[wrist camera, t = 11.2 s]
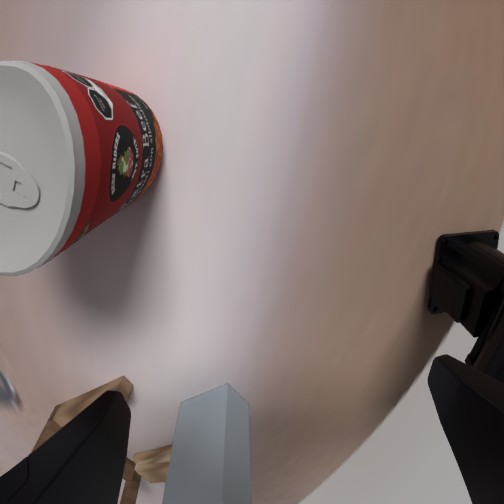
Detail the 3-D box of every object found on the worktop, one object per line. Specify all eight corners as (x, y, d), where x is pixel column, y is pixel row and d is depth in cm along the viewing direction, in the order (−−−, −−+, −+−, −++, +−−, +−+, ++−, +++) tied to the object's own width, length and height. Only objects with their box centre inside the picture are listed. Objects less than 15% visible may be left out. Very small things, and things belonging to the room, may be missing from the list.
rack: (123, 375, 24) (98, 437, 17) (213, 452, 28) (209, 507, 21) (55, 406, 26) (31, 452, 19) (136, 470, 30) (126, 515, 23)
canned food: (158, 214, 19) (76, 300, 9) (53, 198, 19) (-61, 257, 8) (177, 92, 17) (96, 46, 6) (65, 88, 16) (-59, 75, 6)
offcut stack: (178, 441, 27) (174, 464, 24) (199, 457, 28) (197, 479, 26) (133, 453, 28) (127, 473, 26) (154, 467, 30) (150, 487, 27)
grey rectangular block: (227, 383, 24) (222, 502, 14) (248, 404, 25) (251, 516, 15) (180, 402, 25) (161, 510, 15) (203, 421, 26) (192, 525, 16)
